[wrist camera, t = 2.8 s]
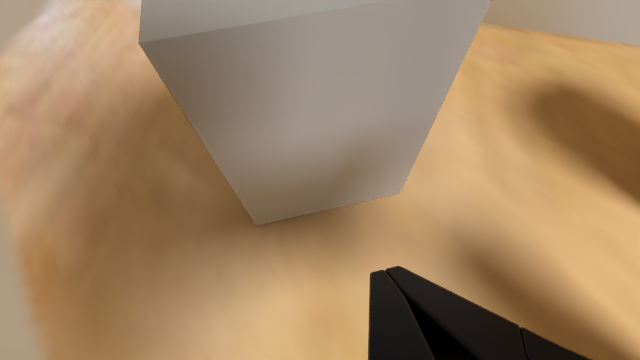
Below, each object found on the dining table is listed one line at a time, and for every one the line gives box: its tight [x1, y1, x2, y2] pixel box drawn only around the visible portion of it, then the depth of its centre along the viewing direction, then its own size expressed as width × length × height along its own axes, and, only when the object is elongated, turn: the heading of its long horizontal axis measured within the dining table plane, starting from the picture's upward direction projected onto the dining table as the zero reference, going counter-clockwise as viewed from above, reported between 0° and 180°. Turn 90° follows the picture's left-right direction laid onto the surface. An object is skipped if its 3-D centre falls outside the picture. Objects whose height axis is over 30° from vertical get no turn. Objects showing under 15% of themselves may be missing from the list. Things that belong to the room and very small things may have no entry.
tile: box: [139, 0, 492, 226], centre depth 15 cm, size 3×10×14 cm, turn 103°
